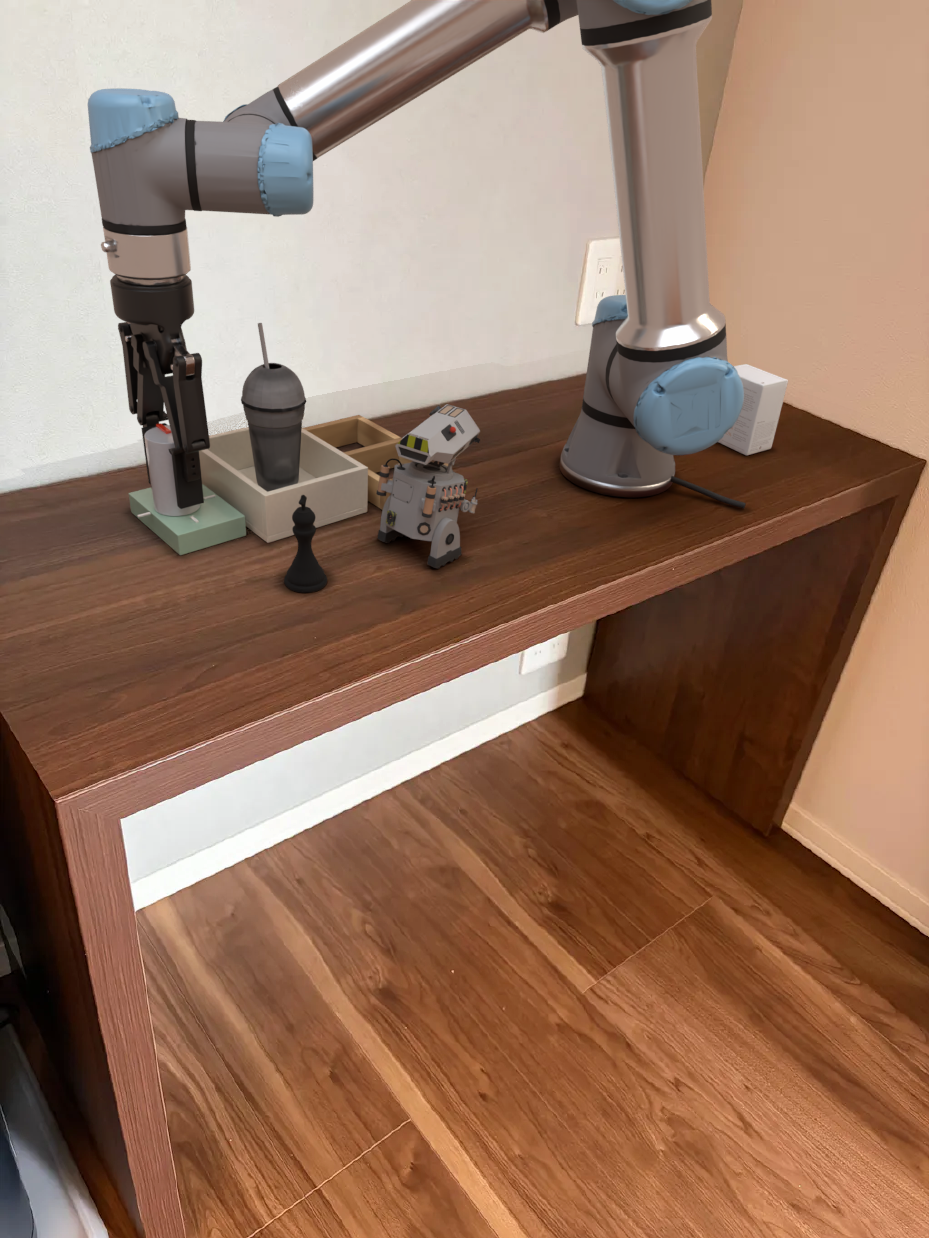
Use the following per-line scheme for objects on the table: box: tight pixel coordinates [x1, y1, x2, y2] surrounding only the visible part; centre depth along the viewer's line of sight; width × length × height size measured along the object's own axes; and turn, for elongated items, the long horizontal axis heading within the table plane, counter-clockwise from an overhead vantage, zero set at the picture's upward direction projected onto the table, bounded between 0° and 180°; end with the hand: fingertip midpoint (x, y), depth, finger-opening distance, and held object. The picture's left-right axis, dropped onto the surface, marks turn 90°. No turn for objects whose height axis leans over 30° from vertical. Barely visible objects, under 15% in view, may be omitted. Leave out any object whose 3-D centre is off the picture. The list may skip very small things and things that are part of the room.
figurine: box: [376, 403, 481, 569], centre depth 100 cm, size 9×12×15 cm
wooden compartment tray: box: [302, 414, 448, 510], centre depth 117 cm, size 20×10×4 cm, turn 41°
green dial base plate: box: [128, 484, 247, 556], centre depth 103 cm, size 12×10×3 cm
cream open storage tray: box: [199, 426, 369, 544], centre depth 109 cm, size 18×14×6 cm
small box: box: [717, 363, 789, 456], centre depth 133 cm, size 8×6×10 cm
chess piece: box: [283, 495, 328, 594], centre depth 92 cm, size 4×4×10 cm
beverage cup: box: [240, 322, 307, 492], centre depth 105 cm, size 7×7×20 cm
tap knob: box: [144, 422, 201, 516], centre depth 99 cm, size 5×5×9 cm
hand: (175, 492), depth 101 cm, fingers open, 6 cm apart
